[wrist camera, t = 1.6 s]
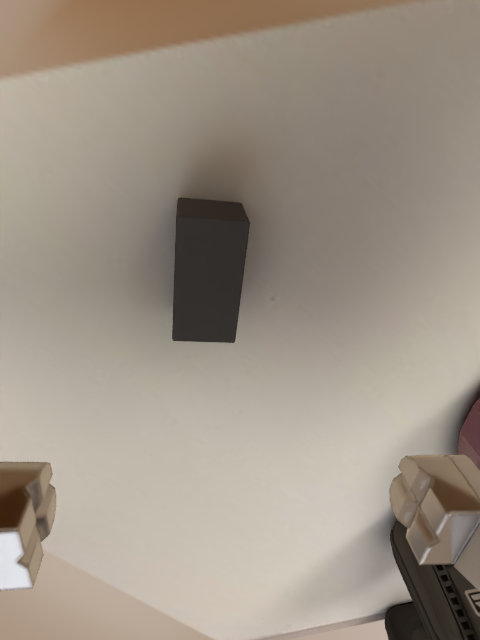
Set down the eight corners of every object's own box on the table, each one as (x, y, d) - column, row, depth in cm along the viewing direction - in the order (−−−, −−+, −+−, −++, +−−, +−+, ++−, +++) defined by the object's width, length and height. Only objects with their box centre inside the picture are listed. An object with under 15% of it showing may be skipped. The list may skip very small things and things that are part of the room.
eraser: (177, 197, 19) (176, 215, 16) (242, 202, 19) (250, 221, 17) (174, 310, 22) (172, 341, 19) (229, 313, 22) (235, 343, 20)
